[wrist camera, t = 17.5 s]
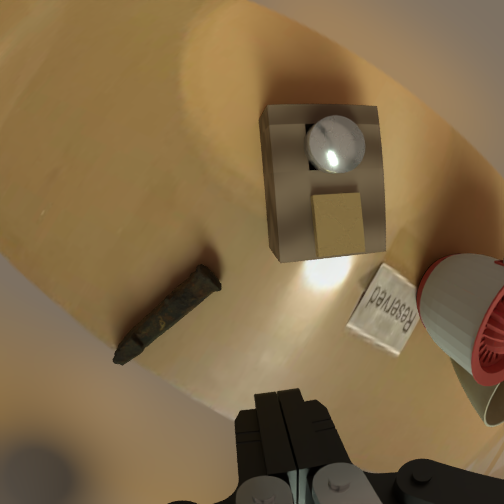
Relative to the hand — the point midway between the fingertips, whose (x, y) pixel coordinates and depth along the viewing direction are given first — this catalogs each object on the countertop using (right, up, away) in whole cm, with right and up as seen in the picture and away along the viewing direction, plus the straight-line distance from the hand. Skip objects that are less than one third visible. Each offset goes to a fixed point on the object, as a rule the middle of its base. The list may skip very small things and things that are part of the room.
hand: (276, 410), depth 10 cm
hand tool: (-13, -3, +32) cm, 34 cm away
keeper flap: (+8, +8, +22) cm, 25 cm away
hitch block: (+7, +14, +29) cm, 33 cm away
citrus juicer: (+30, 0, +35) cm, 46 cm away
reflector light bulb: (+6, +17, +28) cm, 33 cm away
